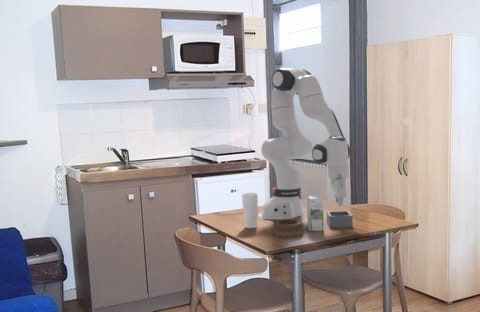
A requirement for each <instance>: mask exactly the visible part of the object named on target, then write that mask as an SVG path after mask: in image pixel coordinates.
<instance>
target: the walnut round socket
mask: <svg viewBox="0 0 480 312" xmlns="http://www.w3.org/2000/svg"><path fill="white" fill-rule="evenodd" d="M303 228H304V226H303V221H302V220H301V219H297V218H292V219H281V220H279V219H276V220H275V221H273V232H274V233H273V235H274V236H275V237H277V238H283V239H293V238H298V237H301V236H303V235H304V229H303Z"/></svg>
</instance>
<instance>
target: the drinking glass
mask: <svg viewBox="0 0 480 312" xmlns="http://www.w3.org/2000/svg"><path fill="white" fill-rule="evenodd" d="M241 198H242V201H241V202H242V209H243V218H244V219H243V220H244V224H245V225H244V227H245V228H246V229H256V228H257V227H258V208H259V207H258V203H259V202H258V201H259V199H258V193H256V192H245V193H242V197H241Z"/></svg>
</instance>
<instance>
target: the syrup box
mask: <svg viewBox="0 0 480 312" xmlns="http://www.w3.org/2000/svg"><path fill="white" fill-rule="evenodd" d="M306 207H307V208H306V209H307V210H306V211H307V229H308V230H309V231H310V233H311V232H313V233H314V232H324V198H323V197H322V196H321V195H307V196H306Z"/></svg>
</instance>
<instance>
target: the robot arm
mask: <svg viewBox="0 0 480 312" xmlns="http://www.w3.org/2000/svg"><path fill="white" fill-rule="evenodd" d="M271 83H272V86H273V87H274V88H273V89H272V90H271V94H270V95H271V98H270V105H271V106H270V108H271V116H272V117H271V118H272V125H273V127H274V128H276V129H277V130H279V131H281V132H282V134H284V137H273V138H269V139H266V140H264V141H263V143H262V145H261V155H262V156H263V158H264V159H265V160H267V161H268V162H269V163H270V164H271V165H272V167H273V169H274V171H275V175H276V176H275V177H276V187H272V188H271V191H272V194H273V195H272V197H270V198H269V199H268V200H267V201H265V202H264V204H263V206H262V210H261V212H259V213H257V218H258V219H261V220H281V219H295V218H297V217H301V216H305V213H304V211H303V206H302V188H301V186H300V185H301V184H300V183H301V181H300V178H301V177H300V171H298V169H297V168H295V167H294V166H292V165H291V166H290V163H289V160H298V159H300V160H301V159H303V158H307V157H309V156H310V155H311V157H312V160H314V162H315V163H316V164H318V165H327V178H329V179H330V186H331V187H330V188H331V190H332V192H333V194H334V197H335V203H336V204H337V206H338V207H343V201H344V199H345V198H347V186H346V185H347V184H346V183H347V182H346V181H347V179H346V178H349V175H350V174H349V171H350V170H349V163H348V162H349V161H348V160H349V159H350V155H351V147H350V145H349V143H348V140H347V138H345V136H344V134H343V131H342V129H341V127H340V124H339V121H338V119H337V116H336V114H335V112H334V110H332V108H330V107H329V106H328V104H327V102H326V100H325V98H324V94H323V91H322V88H321V85H320V83H319V81H318V78H317V77H316V76H315V75H312V73H311V72H309V71H308V70H306V69H300V68H296V67H293V68H291V67H289V68H286V67H280V68H278V69H277V68H276V70H274V72H273V73H272V76H271ZM295 95H297V96H298V101H299V106H300V108H301V111H302V113H303V114H304V115H305V116H306V117H308V118H309V119H312V120H315V121H318V122H320V123H321V124H323V125H324V126H325V128H326V129H327V132H328V135H329V136H328V138H327V139H326V140H324V141H322V142H320V143H316V144H315V145H314V146H313V142H312V141H311V139H310V138H309V137H307V136H306V135H305V134H304V133H303V132H302V131H301V130H300V127H299V125H298V123H297V117H296V112H295V103H294V97H295Z"/></svg>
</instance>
